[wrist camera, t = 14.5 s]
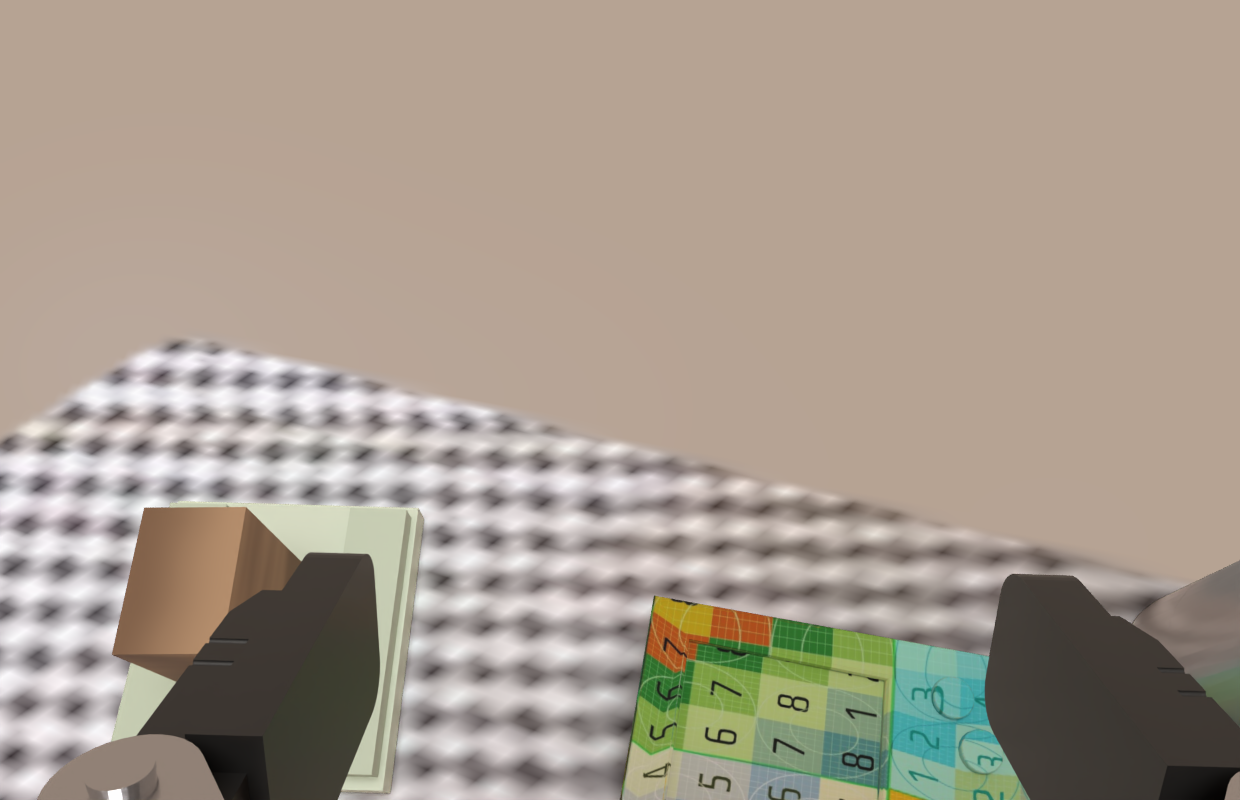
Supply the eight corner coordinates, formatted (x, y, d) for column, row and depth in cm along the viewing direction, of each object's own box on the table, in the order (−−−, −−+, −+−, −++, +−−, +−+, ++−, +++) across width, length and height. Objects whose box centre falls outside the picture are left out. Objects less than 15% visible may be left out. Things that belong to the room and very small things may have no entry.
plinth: (424, 518, 45) (413, 498, 42) (390, 793, 39) (376, 788, 37) (191, 512, 45) (167, 491, 42) (126, 785, 39) (94, 780, 37)
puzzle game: (1174, 1024, 33) (602, 907, 34) (1109, 1006, 37) (602, 903, 38) (1151, 679, 38) (655, 589, 39) (1096, 698, 42) (650, 616, 43)
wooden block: (323, 583, 42) (245, 507, 33) (308, 701, 40) (220, 653, 31) (241, 584, 42) (141, 507, 33) (222, 702, 40) (109, 654, 31)
